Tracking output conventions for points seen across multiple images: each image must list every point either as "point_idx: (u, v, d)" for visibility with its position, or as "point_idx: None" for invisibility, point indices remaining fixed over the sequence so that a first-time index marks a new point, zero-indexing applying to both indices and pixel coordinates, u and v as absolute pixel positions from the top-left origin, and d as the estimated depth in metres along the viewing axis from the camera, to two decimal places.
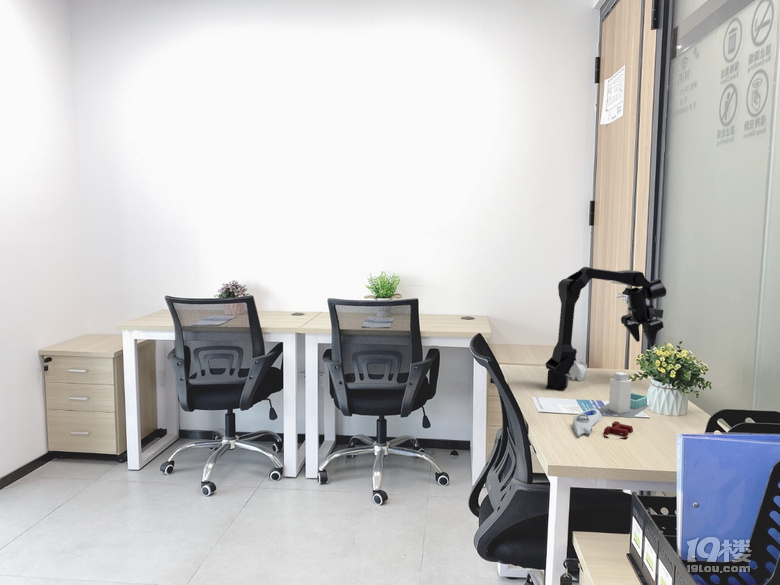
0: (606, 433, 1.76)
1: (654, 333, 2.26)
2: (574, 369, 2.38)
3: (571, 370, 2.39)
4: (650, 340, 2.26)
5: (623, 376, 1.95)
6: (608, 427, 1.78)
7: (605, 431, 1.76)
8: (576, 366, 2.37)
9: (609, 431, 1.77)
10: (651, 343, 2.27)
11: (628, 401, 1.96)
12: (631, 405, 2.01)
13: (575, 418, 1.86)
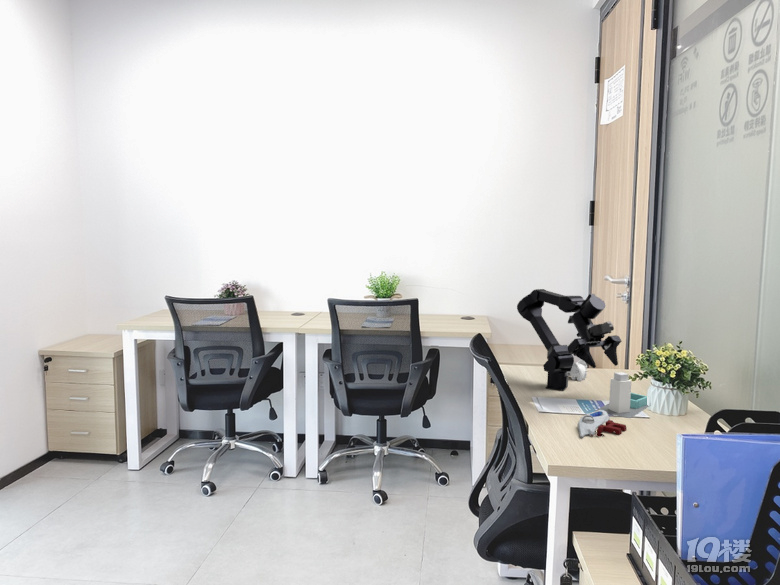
0: (599, 431, 1.77)
1: (585, 353, 2.04)
2: (574, 369, 2.38)
3: (571, 370, 2.39)
4: (587, 362, 2.05)
5: (623, 376, 1.95)
6: (601, 425, 1.79)
7: (598, 429, 1.77)
8: (576, 366, 2.37)
9: (602, 429, 1.78)
10: (590, 364, 2.04)
11: (628, 401, 1.96)
12: (631, 405, 2.01)
13: (580, 419, 1.85)
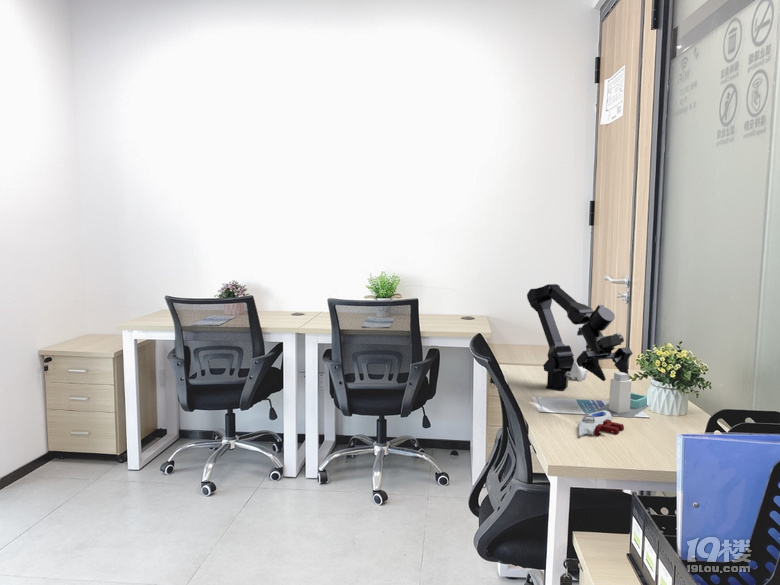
0: (597, 431, 1.77)
1: (595, 365, 1.99)
2: (574, 369, 2.38)
3: (571, 370, 2.39)
4: (596, 374, 1.99)
5: (623, 376, 1.95)
6: (599, 425, 1.79)
7: (596, 429, 1.78)
8: (576, 366, 2.37)
9: (600, 429, 1.78)
10: (600, 377, 1.98)
11: (628, 401, 1.96)
12: (631, 405, 2.01)
13: (581, 419, 1.85)
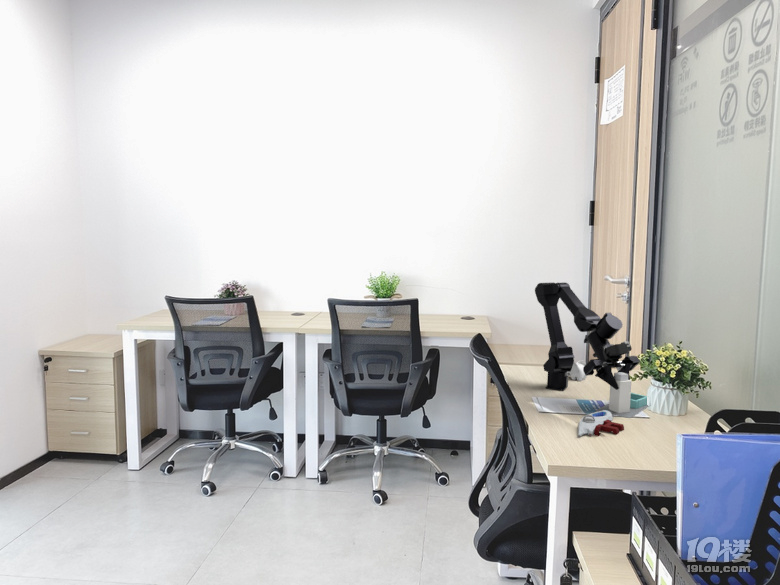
0: (597, 431, 1.78)
1: (607, 374, 1.97)
2: (574, 369, 2.38)
3: (571, 370, 2.39)
4: (609, 383, 1.97)
5: (623, 376, 1.95)
6: (599, 425, 1.79)
7: (596, 429, 1.78)
8: (576, 366, 2.37)
9: (600, 429, 1.78)
10: (613, 386, 1.96)
11: (628, 401, 1.96)
12: (631, 405, 2.01)
13: (582, 418, 1.86)
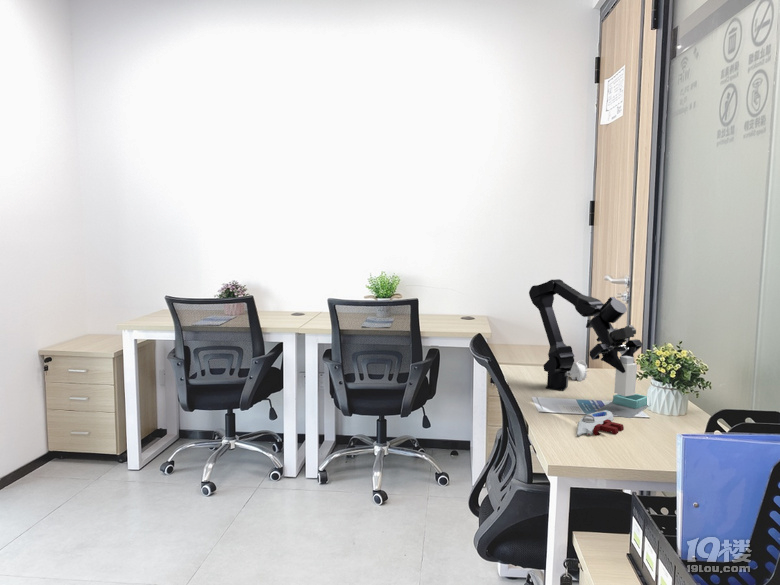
0: (596, 430, 1.78)
1: (614, 358, 1.98)
2: (574, 369, 2.38)
3: (571, 370, 2.39)
4: (615, 366, 1.99)
5: (629, 359, 1.97)
6: (598, 425, 1.79)
7: (595, 428, 1.78)
8: (576, 366, 2.37)
9: (599, 429, 1.79)
10: (619, 369, 1.98)
11: (634, 384, 1.98)
12: (631, 405, 2.01)
13: (582, 418, 1.86)
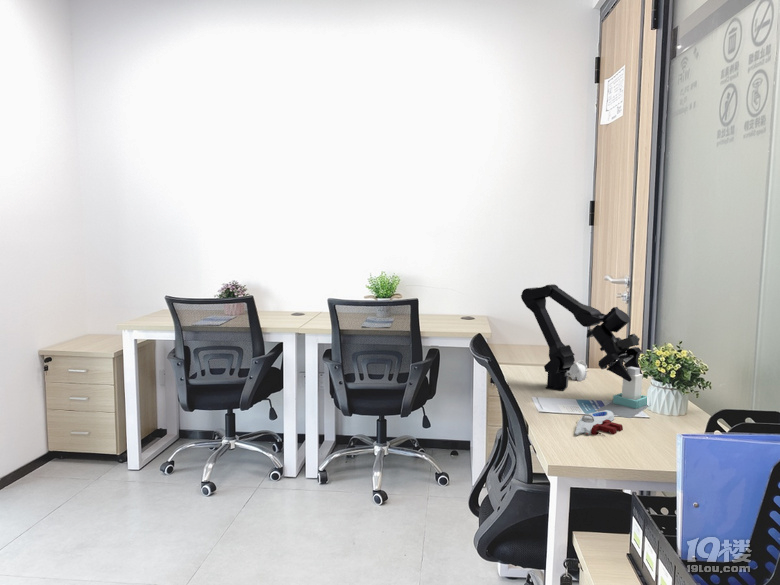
0: (594, 430, 1.78)
1: (620, 367, 2.02)
2: (574, 369, 2.38)
3: (571, 370, 2.39)
4: (621, 375, 2.03)
5: (636, 370, 2.03)
6: (597, 424, 1.80)
7: (593, 428, 1.78)
8: (576, 366, 2.37)
9: (597, 428, 1.79)
10: (625, 378, 2.02)
11: (640, 394, 2.05)
12: (631, 405, 2.01)
13: (581, 418, 1.86)
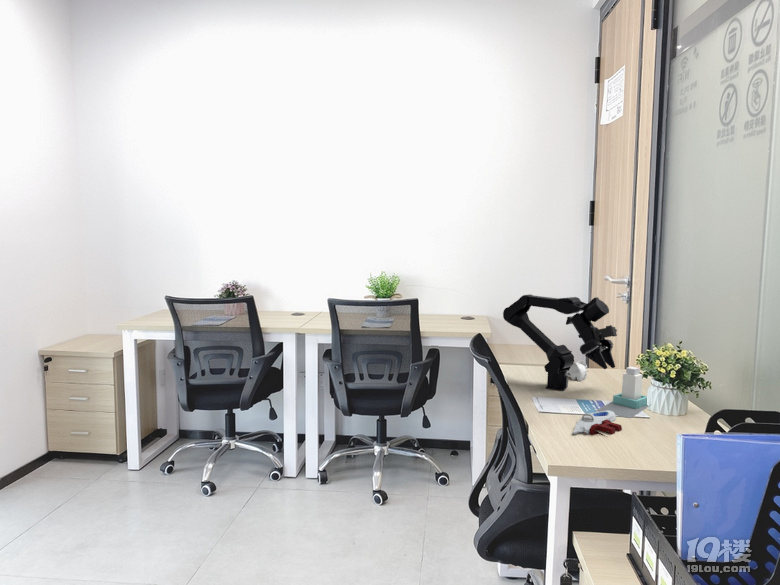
0: (592, 430, 1.78)
1: (598, 354, 2.09)
2: (574, 369, 2.38)
3: (571, 370, 2.39)
4: (598, 362, 2.09)
5: (636, 370, 2.03)
6: (595, 424, 1.80)
7: (591, 428, 1.79)
8: (576, 366, 2.37)
9: (596, 428, 1.79)
10: (601, 365, 2.08)
11: (640, 394, 2.05)
12: (631, 405, 2.01)
13: (581, 417, 1.87)
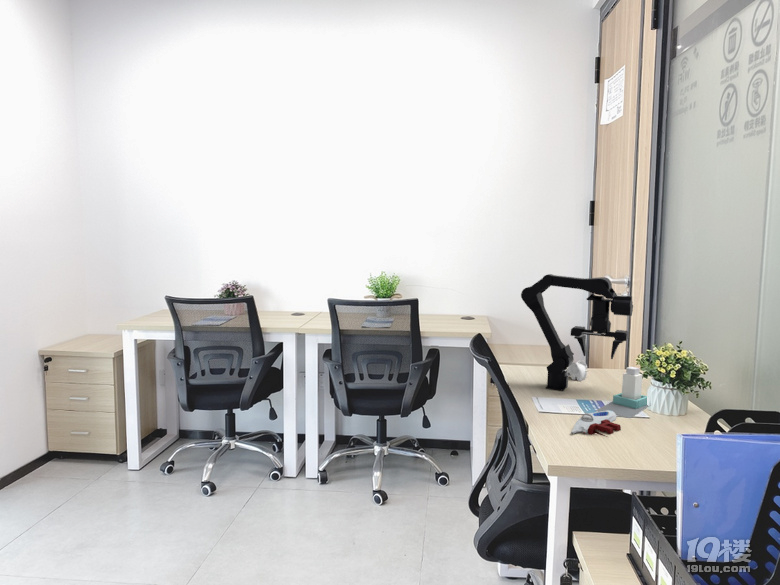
0: (590, 429, 1.79)
1: None
2: (574, 369, 2.38)
3: (571, 370, 2.39)
4: (614, 352, 2.16)
5: (636, 370, 2.03)
6: (594, 424, 1.80)
7: (590, 427, 1.79)
8: (576, 366, 2.37)
9: (594, 428, 1.79)
10: (613, 355, 2.16)
11: (640, 394, 2.05)
12: (631, 405, 2.01)
13: (581, 417, 1.87)
